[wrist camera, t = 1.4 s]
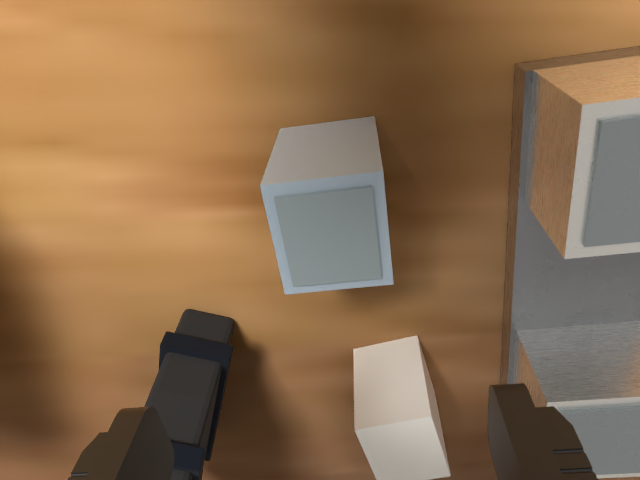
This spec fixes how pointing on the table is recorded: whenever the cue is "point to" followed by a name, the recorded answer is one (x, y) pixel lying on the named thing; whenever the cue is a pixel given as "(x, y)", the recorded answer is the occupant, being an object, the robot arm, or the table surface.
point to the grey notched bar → (577, 249)
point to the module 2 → (398, 412)
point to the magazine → (192, 387)
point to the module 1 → (328, 207)
